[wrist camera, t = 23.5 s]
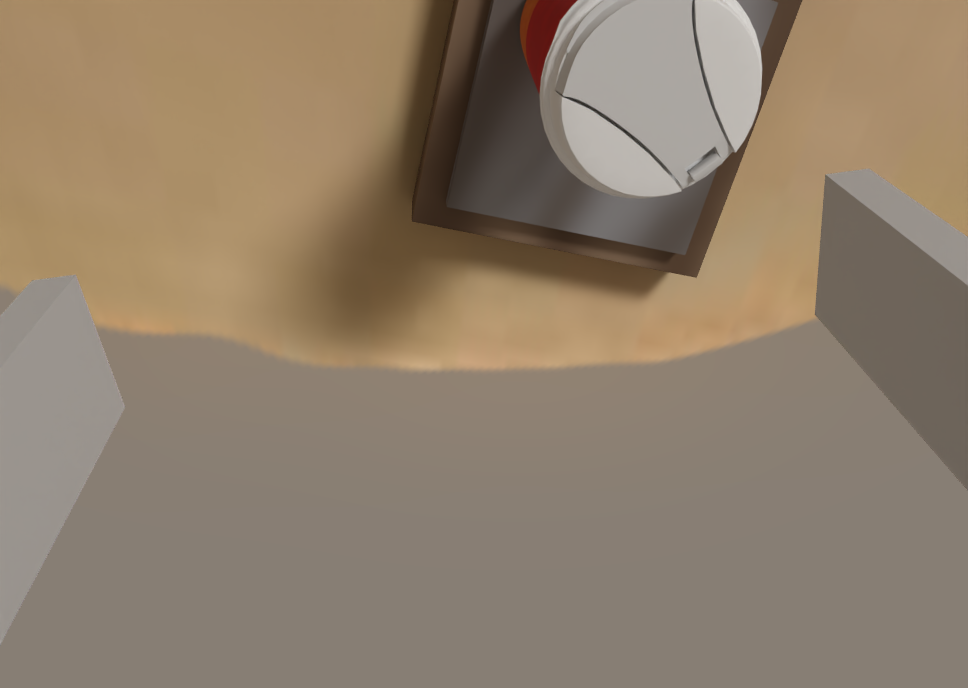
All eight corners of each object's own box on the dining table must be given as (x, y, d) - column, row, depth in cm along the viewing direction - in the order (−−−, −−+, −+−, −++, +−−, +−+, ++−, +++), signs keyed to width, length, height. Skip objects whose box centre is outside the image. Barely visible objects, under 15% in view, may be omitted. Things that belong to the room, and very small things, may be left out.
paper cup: (689, 41, 42) (816, 118, 30) (558, 141, 44) (627, 252, 32) (599, -106, 39) (701, -87, 26) (460, 9, 40) (496, 76, 28)
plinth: (412, 201, 49) (412, 228, 46) (478, -116, 42) (484, -113, 38) (682, 256, 52) (701, 285, 48) (788, -33, 45) (820, -24, 41)
